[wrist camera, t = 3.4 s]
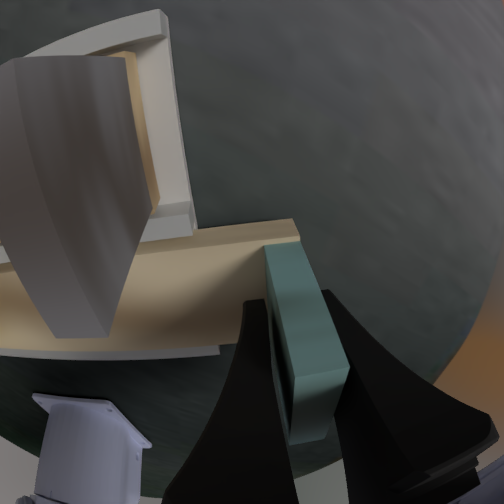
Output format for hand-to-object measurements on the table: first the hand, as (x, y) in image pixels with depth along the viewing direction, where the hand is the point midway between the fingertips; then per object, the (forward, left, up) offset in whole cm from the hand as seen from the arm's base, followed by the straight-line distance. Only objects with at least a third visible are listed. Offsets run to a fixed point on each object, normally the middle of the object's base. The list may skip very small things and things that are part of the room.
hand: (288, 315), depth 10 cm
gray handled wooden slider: (+6, +15, -2) cm, 16 cm away
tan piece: (0, +10, -2) cm, 11 cm away
